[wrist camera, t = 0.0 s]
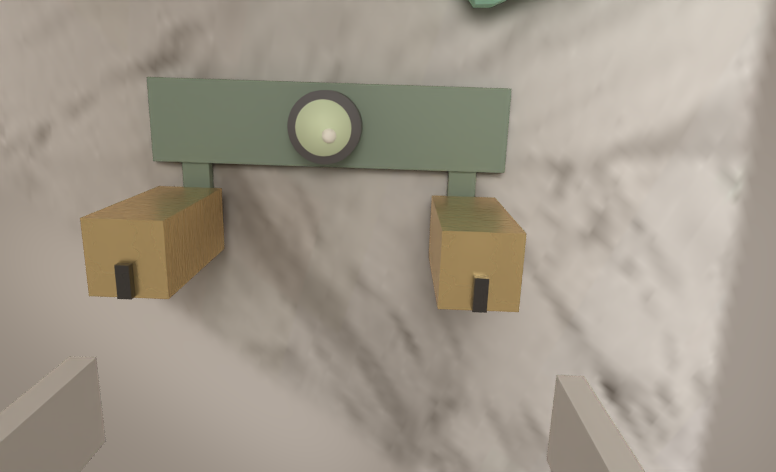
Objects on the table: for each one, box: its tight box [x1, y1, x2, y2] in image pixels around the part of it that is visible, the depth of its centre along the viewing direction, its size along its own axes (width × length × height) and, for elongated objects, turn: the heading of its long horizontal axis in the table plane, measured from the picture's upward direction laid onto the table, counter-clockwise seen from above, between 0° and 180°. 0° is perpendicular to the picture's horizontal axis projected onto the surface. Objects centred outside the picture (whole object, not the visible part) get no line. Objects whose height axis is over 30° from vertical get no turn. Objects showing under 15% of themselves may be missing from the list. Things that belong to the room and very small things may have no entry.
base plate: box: [147, 77, 511, 197], centre depth 40 cm, size 12×26×4 cm, turn 88°
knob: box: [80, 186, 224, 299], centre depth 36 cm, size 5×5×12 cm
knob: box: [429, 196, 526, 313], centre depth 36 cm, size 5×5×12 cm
